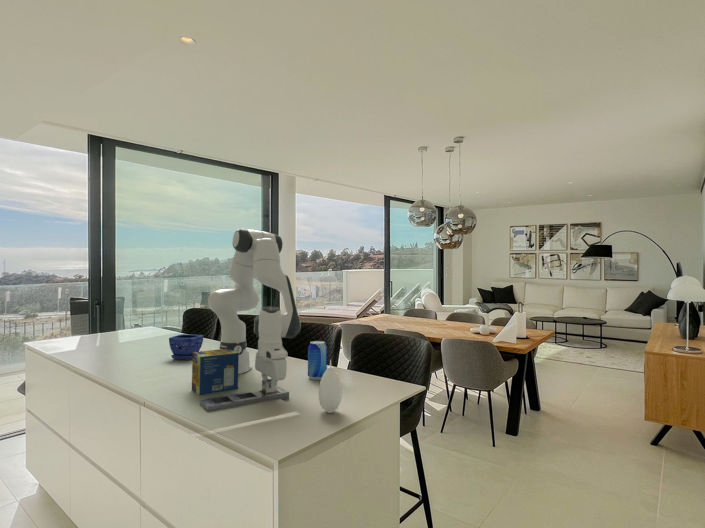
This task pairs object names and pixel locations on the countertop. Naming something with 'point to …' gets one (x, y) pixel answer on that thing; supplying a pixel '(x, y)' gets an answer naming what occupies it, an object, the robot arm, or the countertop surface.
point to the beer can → (317, 360)
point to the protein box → (214, 371)
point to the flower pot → (185, 345)
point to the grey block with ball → (267, 387)
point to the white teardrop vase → (330, 390)
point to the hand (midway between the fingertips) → (269, 386)
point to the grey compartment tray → (241, 399)
